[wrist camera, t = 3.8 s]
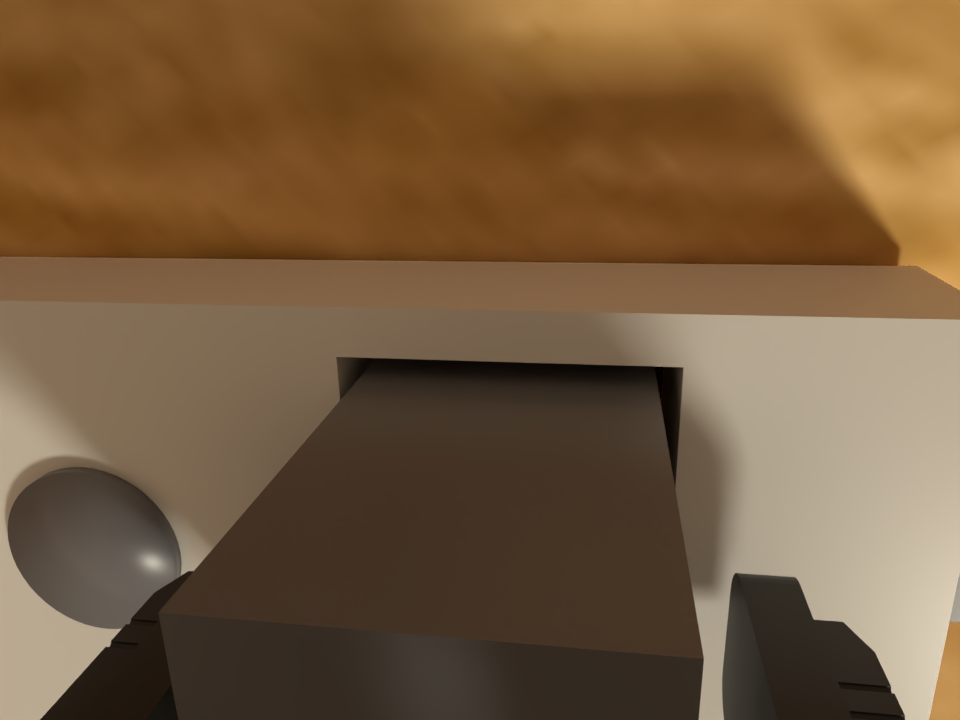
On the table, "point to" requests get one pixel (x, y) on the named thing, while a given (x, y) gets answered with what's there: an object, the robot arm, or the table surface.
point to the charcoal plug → (454, 559)
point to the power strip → (477, 337)
